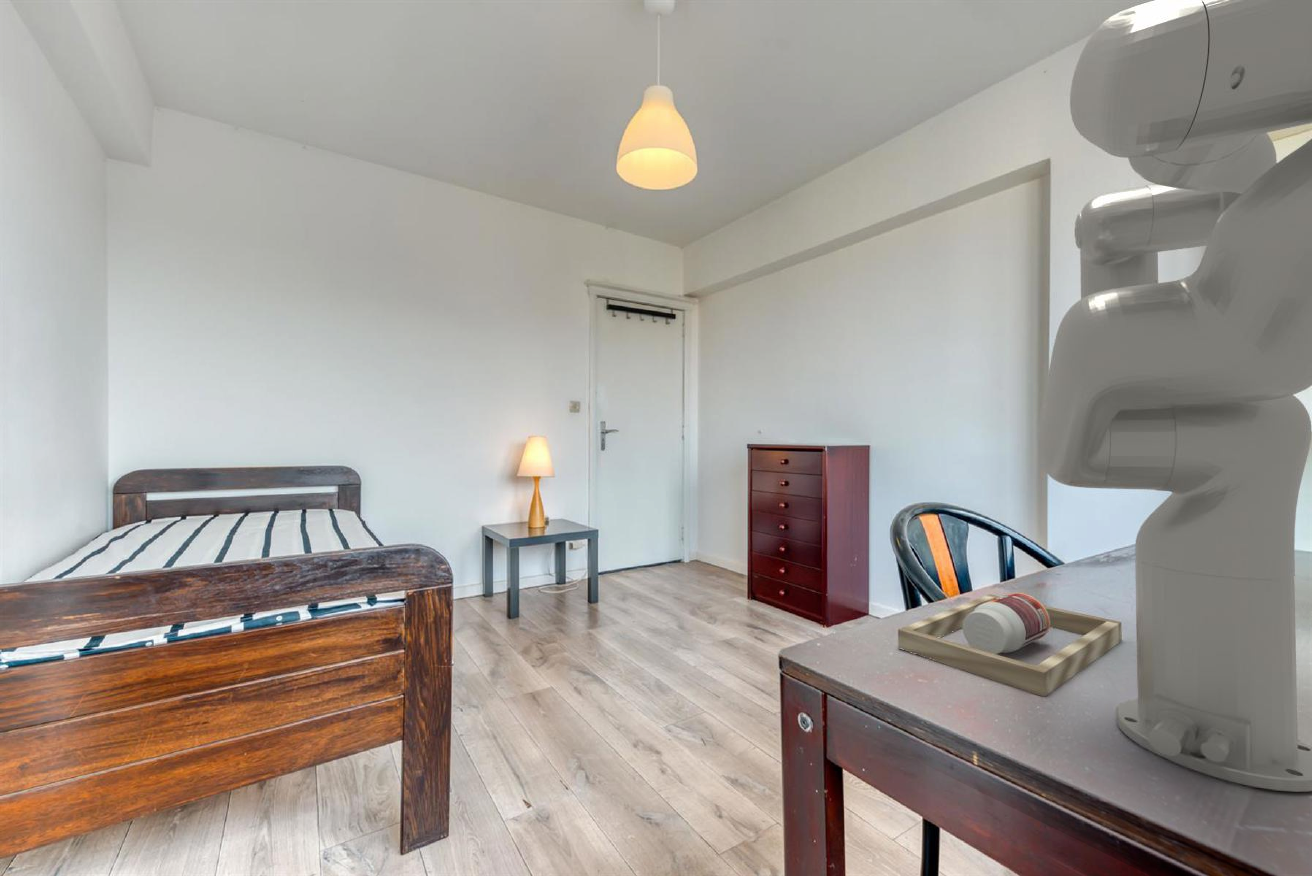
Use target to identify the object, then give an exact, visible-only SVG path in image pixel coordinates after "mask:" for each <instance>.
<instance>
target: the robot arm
mask: <svg viewBox="0 0 1312 876" xmlns="http://www.w3.org/2000/svg"><path fill="white" fill-rule="evenodd" d="M1070 85H1071V87H1070V97H1069V105H1070V106H1069V108H1070V115H1071V119H1072V123H1073V125H1074V128H1075V130H1076V131H1077V132H1078V133H1079V135H1080V136H1081V137H1082V138H1084V139H1085V140H1086V141H1088V142H1090V143H1091V144H1092V145H1094V146H1095V147H1098V148H1099V149H1101V150H1102V151H1104V152H1105V153H1106V154H1109V155H1111V156H1114V157H1118V158H1124V159H1125V158H1126V159H1128V162H1129V164H1130V166H1131V168H1132V170H1133V171H1134V173H1136V174H1137V175H1138V176H1139V177H1141V178H1142V179H1144V180H1145V181H1147V182H1150V183H1151V184H1146V185H1144V186H1137V187H1132V188H1127V189H1122V190H1115V191H1112V192H1111V191H1110V192H1106V193H1103V194H1101V195H1100V194H1099V195H1098V196H1095V197H1093V198H1091V199H1090V200H1089V201H1088V202H1087V203H1085V205H1084V206H1083V208H1082V210H1081V211H1080V212H1079V213H1078V214H1077V216H1076V218H1075V223H1074V239H1075V244H1076V247H1077V249H1079V251H1080V252H1079V253H1080V254H1079V258H1080V265H1079V266H1080V300H1078V301H1076V302H1075V303H1074V304H1073V305H1072V306H1071V307H1070V308H1069V309H1068V310H1067V312H1066V313H1065V314H1064V316H1063V318H1062V319H1061V321H1060V323H1059V326H1058V329H1057V332H1056V335H1055V339H1054V343H1053V346H1052V351H1051V358H1050V364H1049V370H1048V375H1047V381H1046V387H1045V391H1044V398H1043V402H1042V409H1041V414H1040V420H1039V424H1038V425H1039V426H1038V432H1037V433H1038V437H1037V448H1038V457H1039V461H1040V463H1041V466H1042V468H1043V470H1044V471H1045V473H1046V474H1047V475H1048V476H1049V477H1050V478H1051V479H1052V480H1054V481H1056V482H1057V483H1060V484H1062V485H1065V486H1069V487H1074V488H1075V487H1076V488H1084V489H1085V488H1087V489H1109V490H1110V489H1115V490H1146V491H1147V490H1148V491H1149V490H1152V491H1153V490H1154V491H1162V492H1169V493H1170V492H1171V494H1170V495H1169V496H1168V497H1167V498H1166V499H1164V501H1163V502H1162V503H1161V504H1160V505H1159V506H1157V508H1155V510H1153V512H1151V513H1150V515H1149V516H1148V517H1147V518H1146V519H1145V520H1144V522H1143V523H1142V524H1141V526H1140V528H1139V529H1138V532H1137V534H1136V538H1135V546H1134V547H1135V550H1134V551H1135V553H1134V554H1135V557H1134V559H1135V560H1134V563H1135V569H1134V570H1135V612H1136V613H1135V616H1136V617H1135V619H1136V620H1135V621H1136V623H1135V625H1136V626H1135V627H1136V628H1135V629H1136V676H1137V677H1136V678H1137V679H1136V680H1137V681H1136V682H1137V699H1135V698H1134V699H1130V700H1126V701H1124V702H1121V703H1119V705H1118V706H1117V707H1116V709H1115V719H1116V724H1117V725H1118V727H1119V728H1120V730H1121V731H1122V732H1123V733H1124V734H1125V735H1126V736H1128V737H1129V739H1131V740H1132V741H1134V742H1135V743H1136V744H1138V745H1140V747H1143V748H1144V749H1147V750H1148V751H1150V752H1151V753H1153V754H1155V755H1158V756H1160V757H1162V758H1163V759H1165V760H1168V761H1170V762H1173V763H1175V764H1176V765H1180V766H1183V767H1185V768H1186V769H1187V768H1188V769H1190V770H1193V771H1196V772H1198V773H1202V774H1204V775H1208V776H1210V777H1213V778H1217V779H1220V780H1225V781H1227V782H1231V783H1236V784H1239V785H1244V786H1249V787H1253V788H1257V789H1264V790H1270V791H1277V792H1278V791H1279V792H1291V793H1293V792H1294V793H1299V792H1312V747H1310V745H1308V744H1306V743H1305V742H1302V740H1299V739H1298V737H1299V735H1298V734H1299V733H1298V698H1297V697H1298V696H1297V695H1298V692H1297V689H1298V688H1297V645H1296V643H1297V642H1296V638H1297V637H1296V602H1295V601H1296V599H1295V598H1296V595H1295V594H1296V593H1295V590H1296V588H1295V587H1296V586H1295V577H1296V572H1295V570H1296V569H1295V568H1296V567H1295V566H1296V565H1295V556H1296V555H1295V541H1296V540H1295V536H1296V534H1295V533H1296V531H1295V530H1296V520H1297V519H1296V518H1297V505H1298V501H1299V499H1298V498H1299V494H1300V493H1299V492H1300V488H1301V484H1302V483H1301V482H1302V480H1303V479H1302V478H1303V475H1304V472H1305V468H1306V464H1307V460H1308V456H1309V451H1310V446H1311V441H1312V421H1311V417H1310V414H1309V412H1308V410H1307V408H1306V406H1305V405H1304V403H1303V402H1302V401H1301V400H1300V399H1299V398H1297V397H1296V394H1298V393H1300V392H1303V391H1306V390H1307V389H1309V388H1310V387H1312V138H1311V139H1309V140H1308V141H1306V142H1305V143H1303V144H1302V145H1301V146H1299V147H1298V148H1297V149H1295V150H1293V151H1292V152H1290V153H1289V154H1288V155H1287V156H1284V157H1283V158H1282V159H1280V160H1279V161H1277V151H1276V148H1275V145H1274V142H1273V140H1272V138H1271V137H1270V135H1269V134H1268V133H1270V132H1275V131H1281V130H1285V129H1291V128H1294V127H1295V128H1296V127H1299V126H1304V125H1309V124H1312V0H1152V1H1148V2H1145V3H1142V4H1139V5H1135V6H1132V7H1130V8H1126V9H1125V10H1121V11H1119V12H1117V13H1115V14H1113V15H1111V16H1110V17H1108V18H1107V19H1106V20H1104V21H1103V22H1102V23H1100V24H1099V26H1098V27H1097V29H1096V30H1094V32H1093V33H1092V34H1091V36H1090V38H1088V40H1087V42H1086V44H1085V45H1084V48H1083V50H1082V52H1081V53H1080V56H1079V59H1078V61H1077V63H1076V65H1075V69H1074V72H1073V77H1072V80H1071V84H1070ZM1205 246H1206V247H1205ZM1200 247H1205V250H1204V253H1203V256H1202V258H1201V261H1200V264H1199V265H1198V267H1197V269H1196V270H1195V271H1194V272H1193V273H1192V274H1191V275H1188V276H1186V277H1183V278H1180V279H1177V280H1172V281H1171V280H1170V281H1164V282H1159V255H1158V254H1159V253H1160V252H1161V253H1162V252H1166V251H1167V252H1168V251H1176V250H1183V249H1192V248H1200Z"/></svg>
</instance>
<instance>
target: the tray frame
mask: <svg viewBox="0 0 1312 876" xmlns="http://www.w3.org/2000/svg"><path fill="white" fill-rule="evenodd" d="M999 597H1001V596H999V595H995V594H986V595H984V596H982V597H978V598H977V599H974V600H971V601H969V602H966V603H963V604H961V605H959V606H955V607H953V608H951V609H947V610H945V611H942V612H939V613H937V614H935V615H932V616H928V617H927V618H924V619H922V620H919V621H916V622H914V623H911V624H909V625H905V626H904V627H901V628H898V629H897V639H898V640H897V644H898V645H897V647H899V648H902V649H904V650H907V651H909V652H912V653H916V654H918V655H922V656H925V657H927V658H926V659H928V658H931V659H934V660H935V661H934V660H933V661H934V662H937V661H939V662H938V663H940V662H941V663H940V664H943V663H945V664H944V665H946V664H947V665H946V666H949V667H952V666H953V667H952V668H955V669H958V670H961V671H965V672H967V673H970V674H974V675H977V676H979V677H983V678H986V679H989V680H992V681H994V682H999V683H1000V684H1005V685H1007V686H1010V687H1013V688H1016V689H1020V690H1023V691H1026V692H1029V693H1032V694H1035V695H1038V696H1041V697H1044V698H1045V697H1046V696H1048V695H1050V694H1051V693H1052V692H1054V691H1055V690H1056V689H1057V688H1059V687H1060V686H1062V685H1063V684H1065V683H1066V682H1067V681H1069V680H1070V679H1072V678H1073V677H1074V676H1076V675H1077V674H1079V673H1080V672H1081V671H1083V670H1084V669H1085V668H1086V667H1088V666H1090V665H1091V664H1092V663H1094V662H1095V661H1096V660H1097V659H1099V658H1100V657H1102V656H1103V655H1105V654H1106V653H1107V652H1109V651H1110V650H1111V649H1113V648H1115V646H1117V645H1118V644H1119V643H1121V642H1122V641H1123V639H1122V636H1123V635H1122V632H1123V631H1122V628H1123V626H1122V621H1119V620H1114V619H1109V618H1105V617H1099V616H1095V615H1090V614H1085V613H1079V612H1075V611H1071V610H1067V609H1066V610H1065V609H1061V608H1057V607H1053V606H1046V605H1043V606H1044V607H1045V609H1046V610H1047V612H1048V615H1049V618H1050V627H1049V628H1055V629H1057V630H1063V631H1067V632H1071V633H1075V634H1079V635H1083V636H1081V637H1080V638H1078V639H1076V640H1075V641H1073V642H1072V643H1070V644H1068V645H1067V646H1065V647H1063V648H1061V650H1059V651H1057V652H1056V653H1054V654H1052V655H1050V656H1049V657H1048V658H1046V659H1045V660H1042V661H1041V662H1040V663H1038V664H1037V665H1034V664H1029V663H1027V662H1024V661H1019V660H1016V659H1013V658H1010V657H1006V656H1002V655H999V654H993V653H989V652H986V651H982V650H979V649H976V648H973V647H972V646H967V645H965V644H962V643H957V642H955V641H951V640H948V639H944V638H942V637H940V636H943V635H945V634H947V635H949V634H948V633H950V634H952V633H953V632H952V631H954V632H956V631H959V630H961V629H963V622H964V619H965V618H966V616H968V615H969V614H970V613H972V612H973V611H974V610H975V609H976V608H977V607H978V606H979V605H981V604H983V603H986V602H988V601H991V600H994V599H997V598H999ZM960 628H961V629H960ZM958 629H959V630H958ZM951 632H952V633H951ZM945 636H946V635H945ZM938 637H940V638H938ZM943 637H944V636H943ZM909 652H908V653H909ZM912 653H911V654H912ZM918 655H917V656H918ZM925 657H924V658H925ZM931 659H930V660H931Z"/></svg>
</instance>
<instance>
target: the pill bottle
mask: <svg viewBox="0 0 1312 876" xmlns="http://www.w3.org/2000/svg"><path fill="white" fill-rule="evenodd" d="M1044 606H1045V605H1043V604H1042V603H1041V602H1040V601H1039V600H1038V599H1037V598H1035V597H1034V596H1032V595H1029V594H1026V593H1023V592H1012V593H1009V594H1008V593H1007V594H1005V595H1003V596H1000V597H999V598H997V599H994V600H991V601H988V602H986V603H983V604H981V605H979V606H978V607H977V608H976V609H975V610H974V611H973V612H972V613H970V614H969V615H968V616H966V618H965V619H964V622H963V628H962V632H963V636H964V638H965V639H966V641H967V642H968V645H970V647H972V648H976V649H979V650H982V651H986V652H989V653H993V654H996V655H999V654H1001V653H1002V654H1008V653H1013V652H1015V651H1018V650H1020V649H1022V648H1024V647H1026V646H1028V645H1029V644H1032V643H1034V642H1036V641H1038V640H1040V639H1041V638H1044V637H1045V635H1046V634H1047V633H1048V632H1049V629H1050V628H1051V627H1050V618H1049V615H1048V612H1047V610H1046V609H1045V607H1044Z"/></svg>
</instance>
